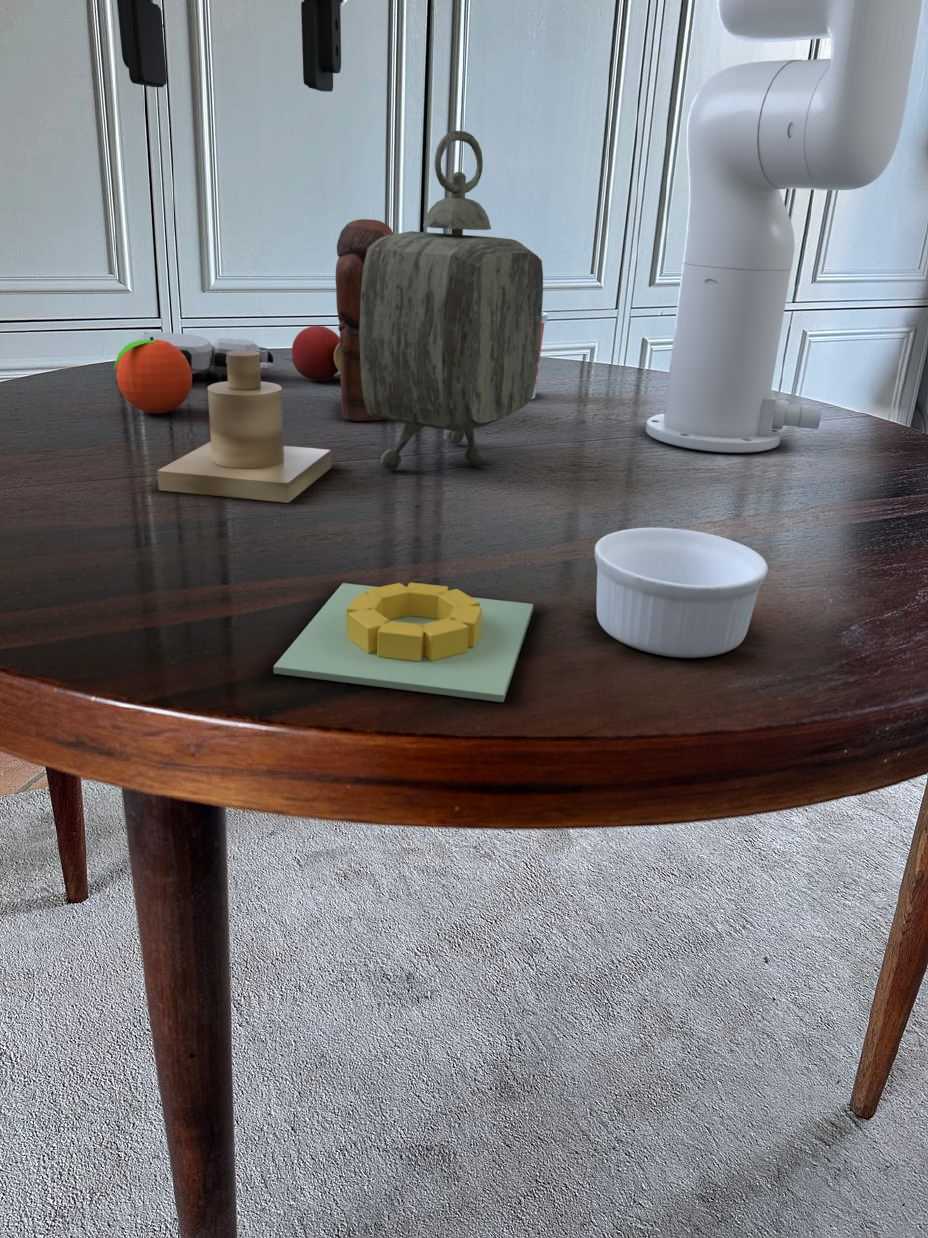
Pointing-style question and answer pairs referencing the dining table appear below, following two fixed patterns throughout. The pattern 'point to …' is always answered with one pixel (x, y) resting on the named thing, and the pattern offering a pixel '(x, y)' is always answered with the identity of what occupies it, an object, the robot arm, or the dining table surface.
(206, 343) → the robot toy
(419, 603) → the ring
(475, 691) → the mat
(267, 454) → the stand
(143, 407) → the clementine
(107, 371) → the dining table surface
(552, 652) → the dining table surface
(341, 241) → the wooden figurine
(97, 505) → the dining table surface
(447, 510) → the dining table surface
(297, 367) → the kendama
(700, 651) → the ramekin
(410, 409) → the tabletop clock
